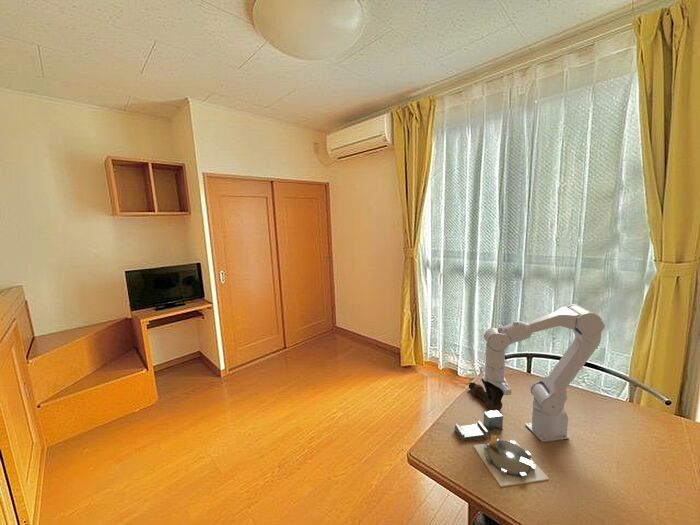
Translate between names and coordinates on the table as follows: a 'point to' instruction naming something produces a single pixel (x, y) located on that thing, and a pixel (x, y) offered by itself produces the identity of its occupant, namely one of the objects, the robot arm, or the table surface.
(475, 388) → the dark brown lumpy bar
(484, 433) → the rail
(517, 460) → the sprocket
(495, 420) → the banded grey block
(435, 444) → the table surface
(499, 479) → the board
